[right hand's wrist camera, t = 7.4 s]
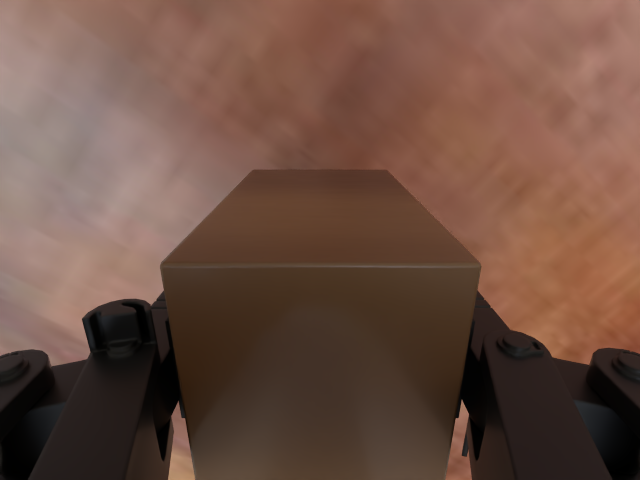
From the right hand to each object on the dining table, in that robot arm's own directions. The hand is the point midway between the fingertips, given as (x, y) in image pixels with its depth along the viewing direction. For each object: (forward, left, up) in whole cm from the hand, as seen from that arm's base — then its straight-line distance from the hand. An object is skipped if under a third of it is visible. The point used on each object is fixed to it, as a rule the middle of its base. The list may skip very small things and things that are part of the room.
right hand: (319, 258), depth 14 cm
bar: (+9, +5, -1) cm, 10 cm away
